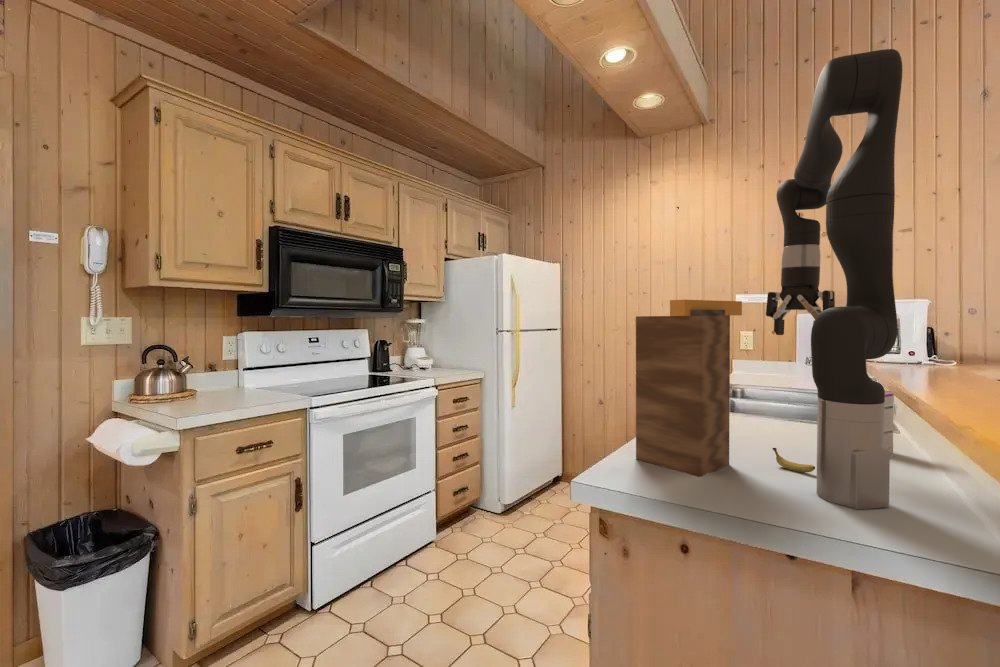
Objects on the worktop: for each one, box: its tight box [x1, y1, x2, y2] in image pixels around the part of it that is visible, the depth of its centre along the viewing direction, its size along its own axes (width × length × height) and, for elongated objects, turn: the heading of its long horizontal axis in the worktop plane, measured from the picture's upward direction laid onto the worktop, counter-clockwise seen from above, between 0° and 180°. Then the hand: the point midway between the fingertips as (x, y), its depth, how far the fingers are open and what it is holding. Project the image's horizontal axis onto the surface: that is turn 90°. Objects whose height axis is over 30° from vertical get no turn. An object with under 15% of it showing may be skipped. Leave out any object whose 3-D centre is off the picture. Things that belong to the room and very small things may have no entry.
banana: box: [772, 447, 816, 473], centre depth 96 cm, size 8×2×4 cm, turn 32°
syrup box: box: [884, 389, 895, 454], centre depth 108 cm, size 6×6×14 cm
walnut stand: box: [635, 310, 731, 478], centre depth 101 cm, size 12×15×33 cm
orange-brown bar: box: [669, 299, 743, 316], centre depth 100 cm, size 24×3×3 cm, turn 128°
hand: (797, 335), depth 109 cm, fingers open, 8 cm apart
